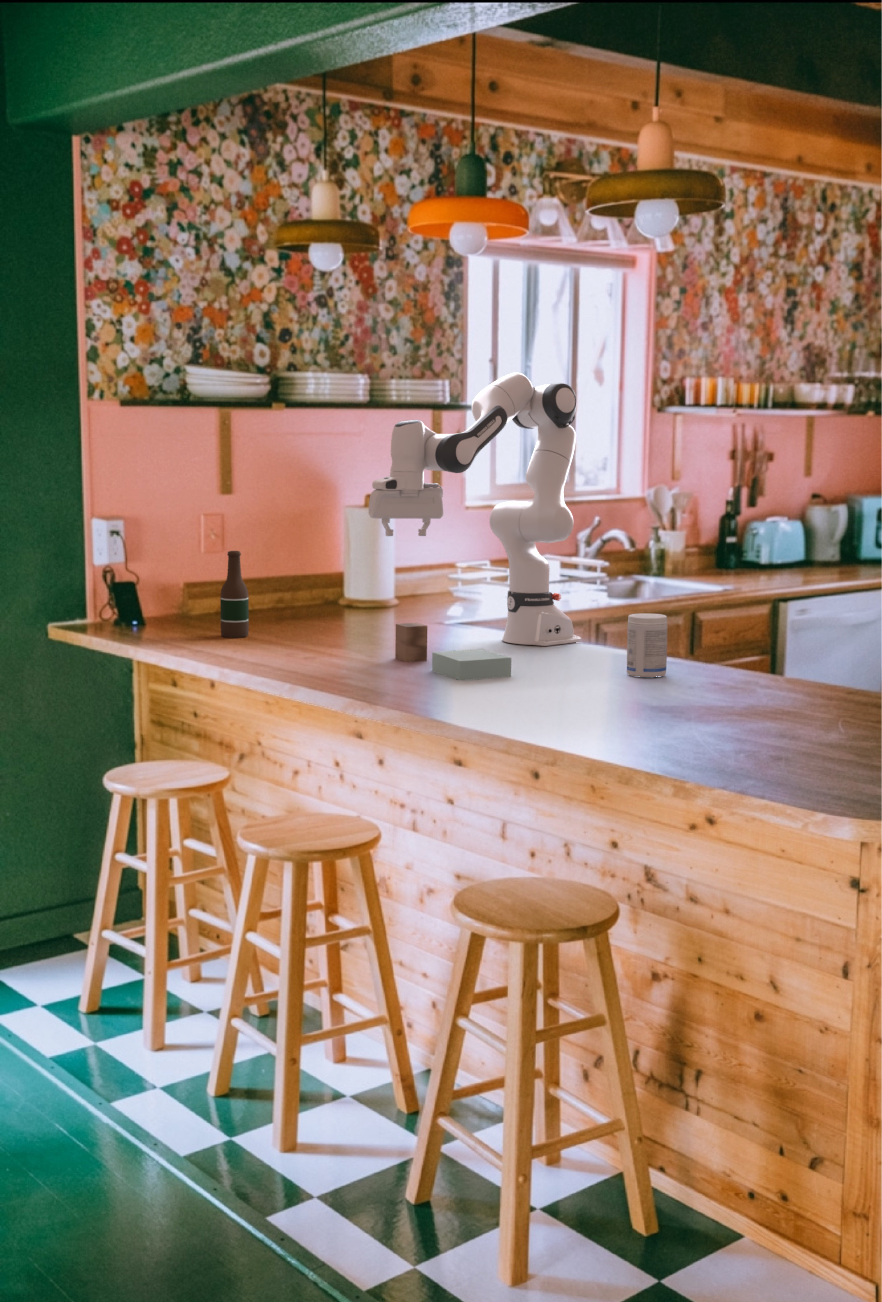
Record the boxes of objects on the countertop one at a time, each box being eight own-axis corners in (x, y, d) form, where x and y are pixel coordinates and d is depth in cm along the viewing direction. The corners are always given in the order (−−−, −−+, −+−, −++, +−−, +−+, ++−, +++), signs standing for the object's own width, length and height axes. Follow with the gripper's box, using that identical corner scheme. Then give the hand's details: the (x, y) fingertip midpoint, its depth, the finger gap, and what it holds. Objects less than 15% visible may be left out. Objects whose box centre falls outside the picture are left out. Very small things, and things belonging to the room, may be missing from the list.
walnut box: (416, 657, 344) (416, 622, 342) (426, 660, 339) (427, 625, 337) (395, 658, 341) (395, 623, 340) (405, 662, 336) (406, 626, 334)
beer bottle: (254, 636, 375) (254, 550, 371) (236, 639, 368) (235, 552, 364) (233, 633, 379) (232, 549, 375) (214, 636, 372) (214, 551, 368)
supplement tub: (670, 674, 325) (672, 614, 323) (660, 680, 316) (663, 619, 314) (631, 670, 329) (633, 611, 326) (621, 676, 320) (623, 616, 318)
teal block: (481, 668, 330) (482, 648, 330) (510, 678, 318) (511, 657, 317) (432, 672, 324) (432, 652, 323) (459, 682, 312) (460, 661, 311)
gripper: (437, 483, 353) (436, 535, 355) (366, 481, 344) (365, 535, 346) (448, 483, 347) (446, 536, 349) (376, 482, 339) (375, 537, 341)
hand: (405, 536), depth 348 cm, fingers open, 8 cm apart
